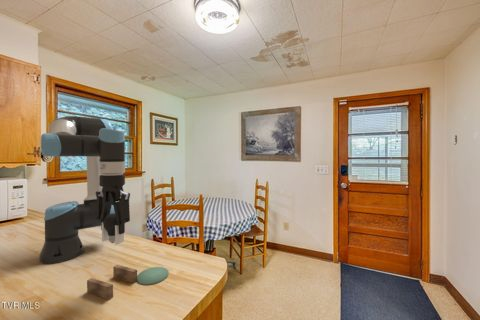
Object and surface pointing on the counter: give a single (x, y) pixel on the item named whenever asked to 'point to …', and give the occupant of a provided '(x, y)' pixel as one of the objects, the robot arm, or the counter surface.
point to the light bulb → (110, 226)
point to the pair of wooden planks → (105, 288)
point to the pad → (152, 275)
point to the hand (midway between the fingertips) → (112, 241)
